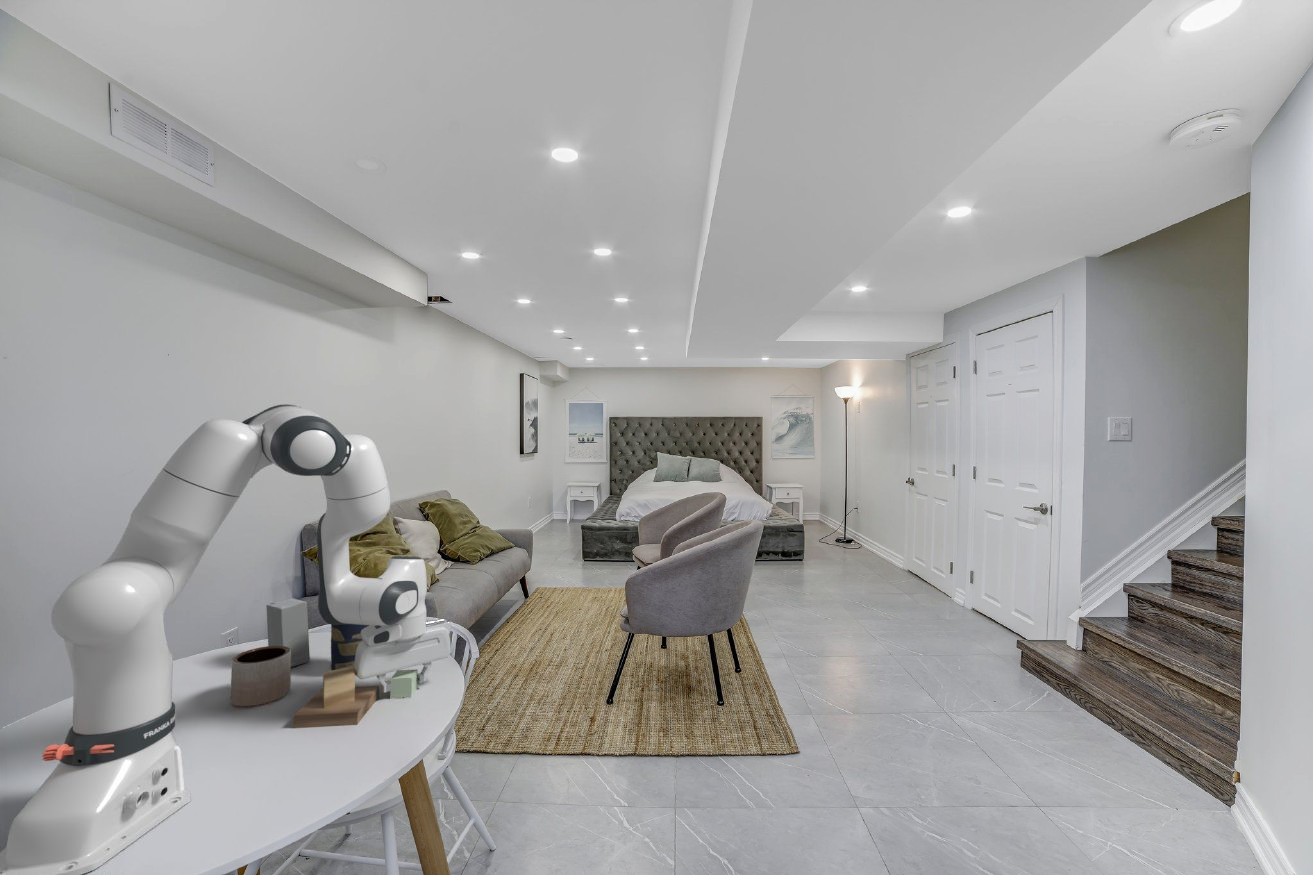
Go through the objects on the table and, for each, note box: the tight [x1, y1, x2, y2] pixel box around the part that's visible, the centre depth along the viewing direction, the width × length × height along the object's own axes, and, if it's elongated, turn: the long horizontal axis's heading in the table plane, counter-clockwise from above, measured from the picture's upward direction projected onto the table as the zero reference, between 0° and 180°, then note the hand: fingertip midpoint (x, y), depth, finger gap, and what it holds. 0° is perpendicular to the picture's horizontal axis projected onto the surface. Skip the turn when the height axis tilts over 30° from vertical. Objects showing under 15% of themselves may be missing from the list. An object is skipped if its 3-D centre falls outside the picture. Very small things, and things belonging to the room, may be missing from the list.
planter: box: [229, 645, 292, 708], centre depth 121 cm, size 11×11×10 cm
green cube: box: [389, 669, 419, 700], centre depth 123 cm, size 4×4×4 cm
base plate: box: [293, 685, 380, 729], centre depth 115 cm, size 12×12×2 cm
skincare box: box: [265, 597, 311, 668], centre depth 139 cm, size 8×7×16 cm
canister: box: [330, 624, 370, 673], centre depth 136 cm, size 10×10×18 cm
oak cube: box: [322, 667, 356, 708], centre depth 115 cm, size 6×6×6 cm
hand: (404, 686), depth 123 cm, fingers closed on green cube, 6 cm apart
